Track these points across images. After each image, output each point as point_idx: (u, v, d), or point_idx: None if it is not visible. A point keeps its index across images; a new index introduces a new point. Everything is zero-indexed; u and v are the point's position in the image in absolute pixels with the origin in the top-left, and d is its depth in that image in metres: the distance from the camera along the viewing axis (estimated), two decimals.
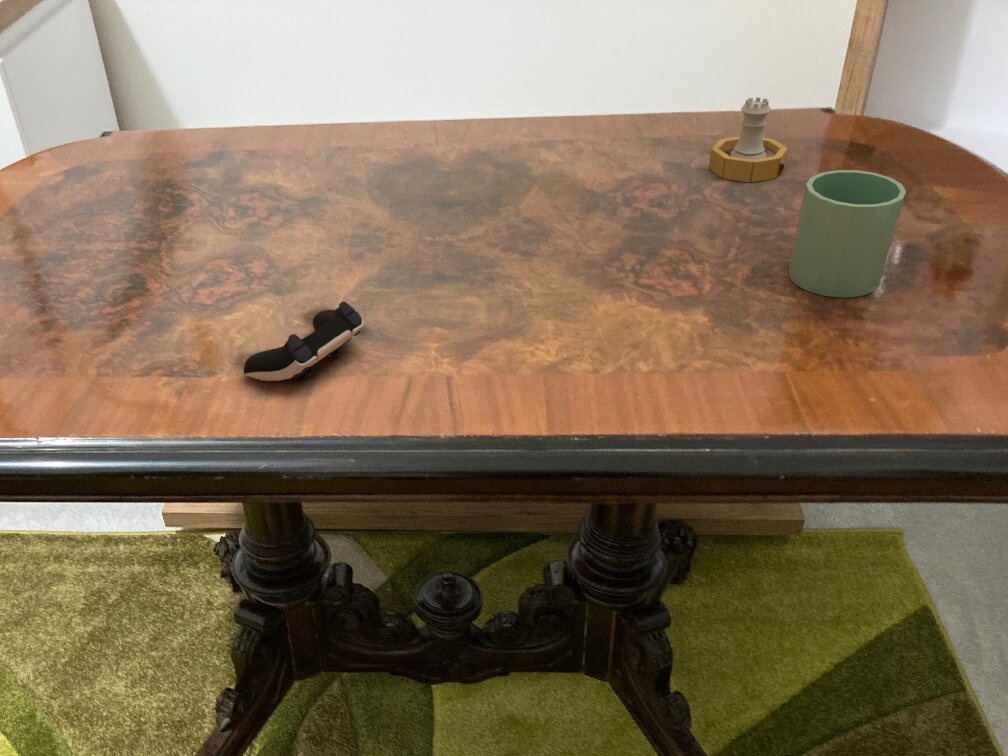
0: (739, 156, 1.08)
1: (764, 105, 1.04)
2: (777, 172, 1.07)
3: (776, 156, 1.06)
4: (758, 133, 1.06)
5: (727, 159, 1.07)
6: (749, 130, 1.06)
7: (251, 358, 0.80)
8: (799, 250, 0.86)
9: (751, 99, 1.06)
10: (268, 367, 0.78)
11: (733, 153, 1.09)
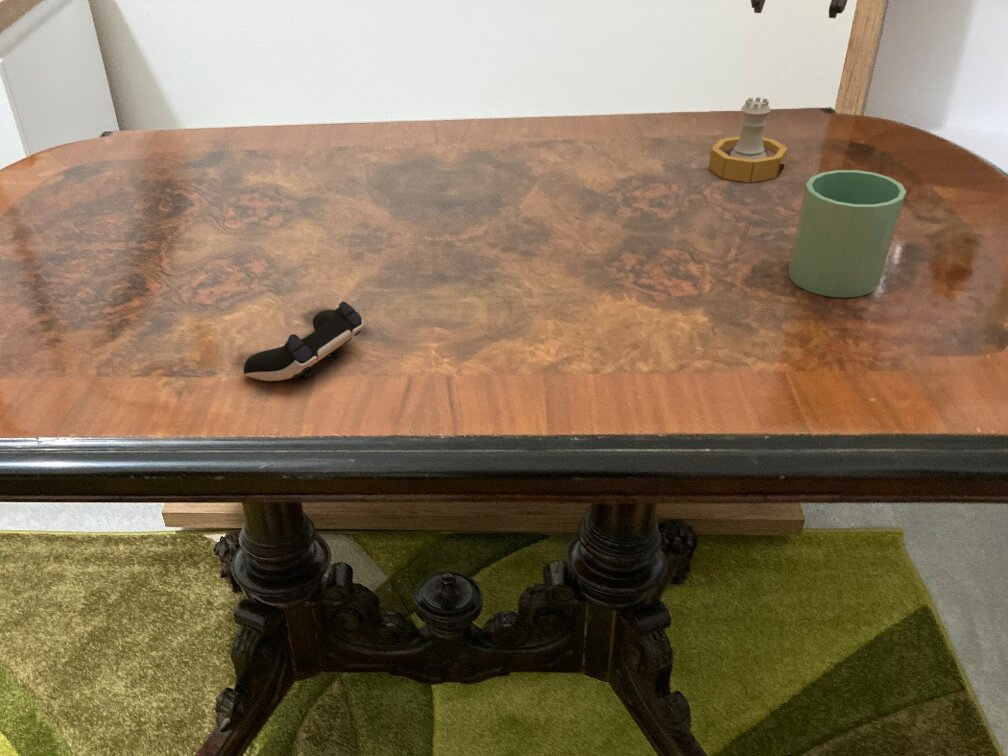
0: (739, 156, 1.08)
1: (764, 105, 1.04)
2: (777, 172, 1.07)
3: (776, 156, 1.06)
4: (758, 133, 1.06)
5: (727, 159, 1.07)
6: (749, 130, 1.06)
7: (251, 358, 0.80)
8: (799, 250, 0.86)
9: (751, 99, 1.06)
10: (268, 367, 0.78)
11: (733, 153, 1.09)
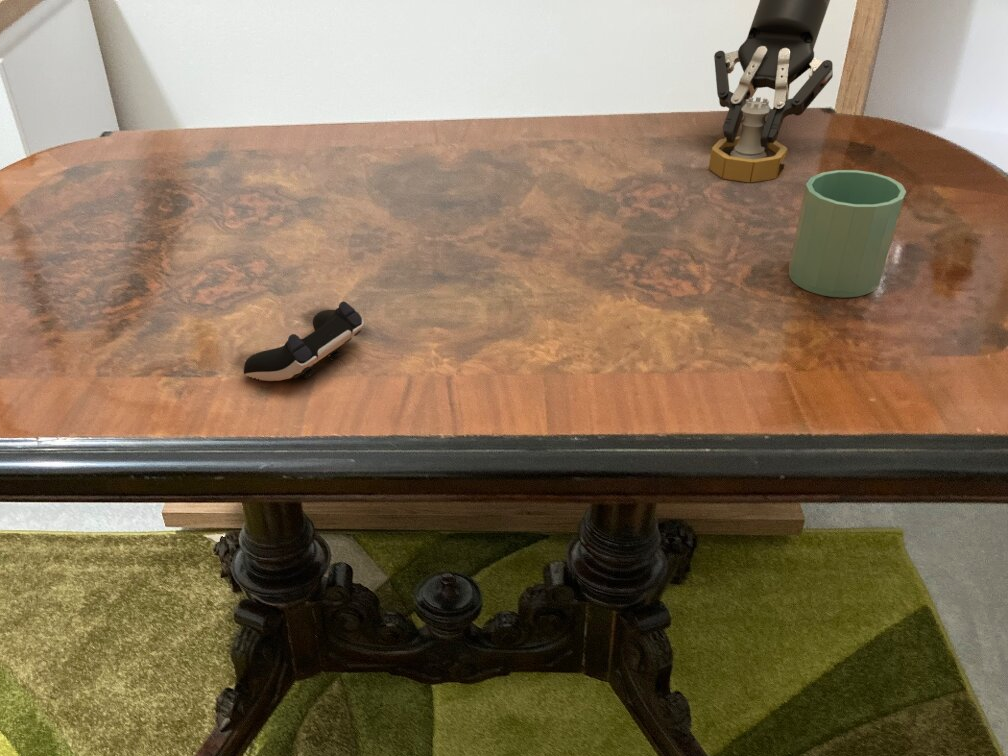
0: (739, 156, 1.08)
1: (764, 105, 1.04)
2: (777, 172, 1.07)
3: (776, 156, 1.06)
4: (758, 133, 1.06)
5: (727, 159, 1.07)
6: (749, 130, 1.06)
7: (251, 358, 0.80)
8: (799, 250, 0.86)
9: (751, 99, 1.06)
10: (268, 367, 0.78)
11: (733, 153, 1.09)
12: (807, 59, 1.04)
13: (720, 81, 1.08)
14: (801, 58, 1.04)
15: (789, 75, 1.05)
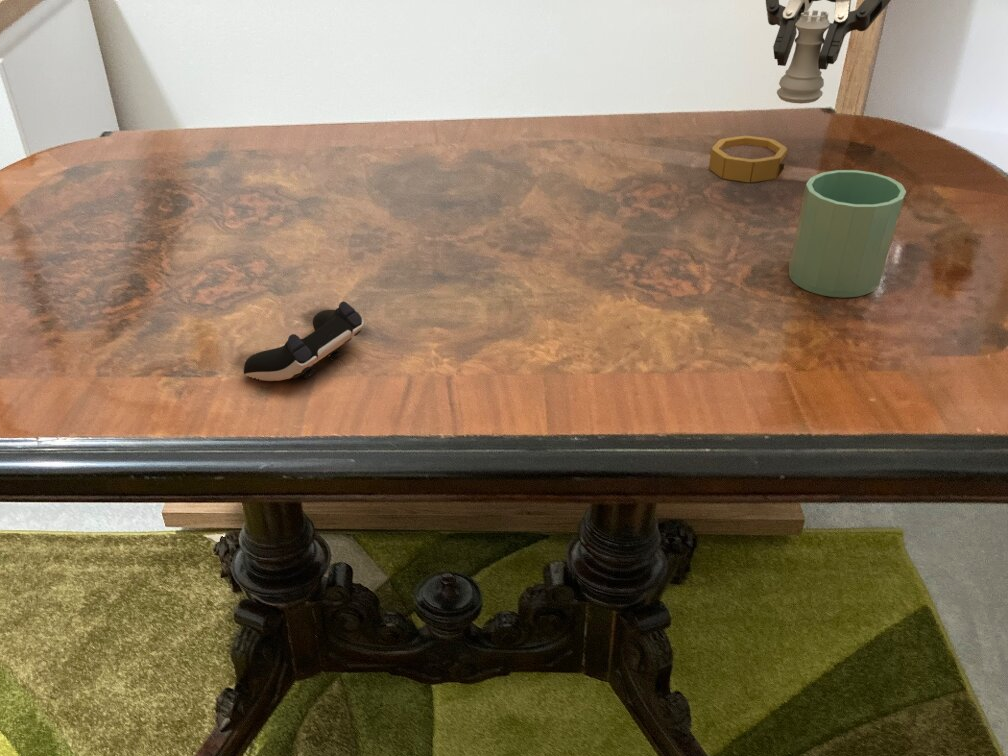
0: (792, 81, 0.92)
1: (823, 18, 0.89)
2: (777, 172, 1.07)
3: (776, 156, 1.06)
4: (815, 53, 0.91)
5: (727, 159, 1.07)
6: (804, 50, 0.91)
7: (251, 358, 0.80)
8: (799, 250, 0.86)
9: (807, 12, 0.90)
10: (268, 367, 0.78)
11: (784, 79, 0.93)
12: None
13: None
14: None
15: None
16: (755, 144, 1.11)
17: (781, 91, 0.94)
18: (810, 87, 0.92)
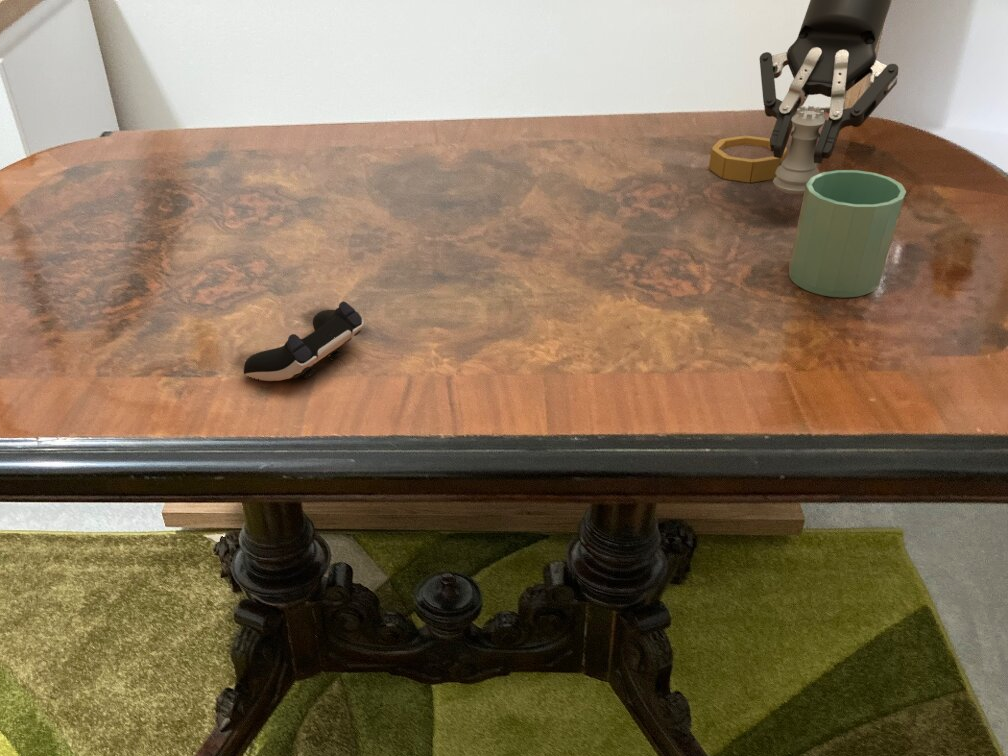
0: (788, 173, 0.95)
1: (819, 115, 0.91)
2: None
3: None
4: (810, 147, 0.93)
5: (727, 159, 1.07)
6: (800, 144, 0.93)
7: (251, 358, 0.80)
8: (799, 250, 0.86)
9: (803, 108, 0.93)
10: (268, 367, 0.78)
11: (781, 169, 0.96)
12: (868, 62, 0.91)
13: (766, 87, 0.94)
14: (861, 61, 0.91)
15: (847, 81, 0.91)
16: (755, 144, 1.11)
17: (777, 181, 0.96)
18: (806, 179, 0.94)
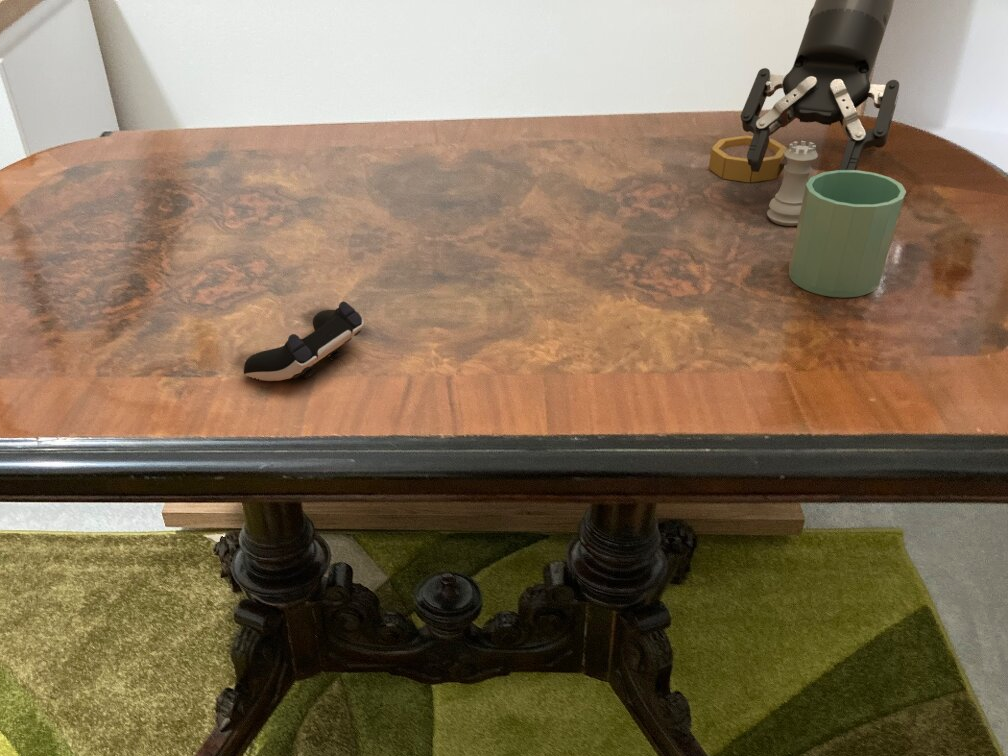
0: (781, 206, 0.97)
1: (811, 150, 0.93)
2: (777, 172, 1.07)
3: (776, 156, 1.06)
4: (803, 181, 0.95)
5: (727, 159, 1.07)
6: (792, 178, 0.95)
7: (251, 358, 0.80)
8: (799, 250, 0.86)
9: (795, 143, 0.95)
10: (268, 367, 0.78)
11: (774, 202, 0.98)
12: (863, 91, 0.92)
13: (750, 102, 0.97)
14: (859, 90, 0.92)
15: None
16: None
17: (771, 213, 0.99)
18: (799, 212, 0.96)
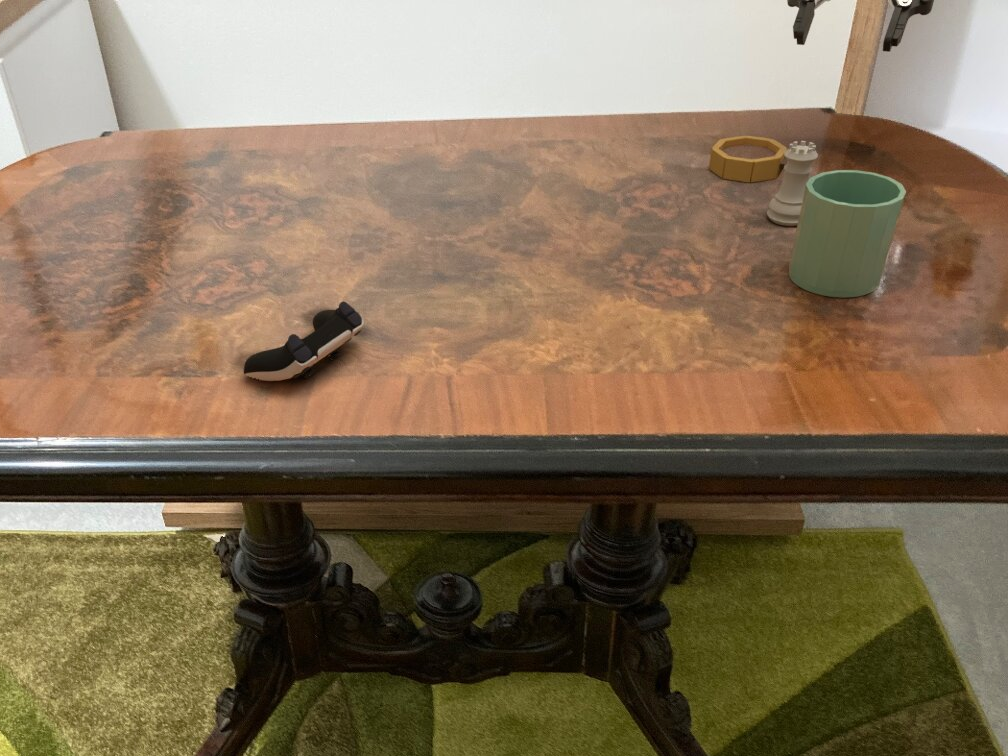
0: (781, 206, 0.97)
1: (811, 150, 0.93)
2: (777, 172, 1.07)
3: (776, 156, 1.06)
4: (803, 181, 0.95)
5: (727, 159, 1.07)
6: (792, 178, 0.95)
7: (251, 358, 0.80)
8: (799, 250, 0.86)
9: (795, 143, 0.95)
10: (268, 367, 0.78)
11: (774, 202, 0.98)
12: None
13: None
14: None
15: None
16: (755, 144, 1.11)
17: (771, 213, 0.99)
18: (799, 212, 0.96)
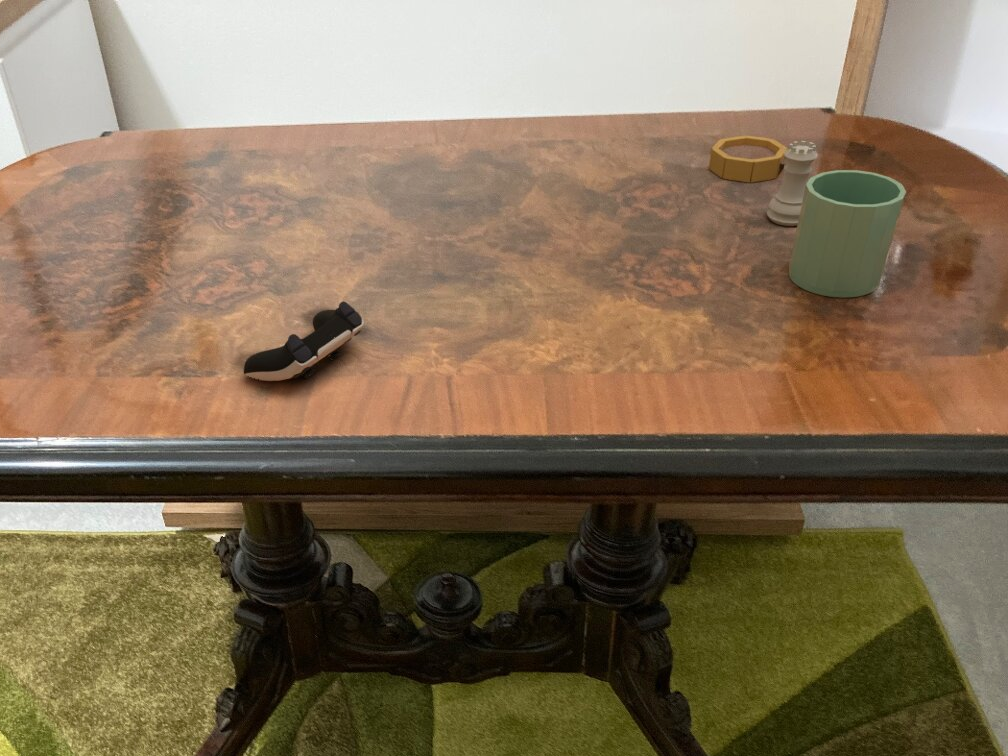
0: (781, 205, 0.97)
1: (811, 150, 0.93)
2: (777, 172, 1.07)
3: (776, 156, 1.06)
4: (803, 181, 0.95)
5: (727, 159, 1.07)
6: (792, 178, 0.95)
7: (251, 358, 0.80)
8: (799, 250, 0.86)
9: (796, 143, 0.95)
10: (268, 367, 0.78)
11: (774, 202, 0.98)
12: None
13: None
14: None
15: None
16: (755, 144, 1.11)
17: (771, 213, 0.99)
18: (799, 212, 0.96)
